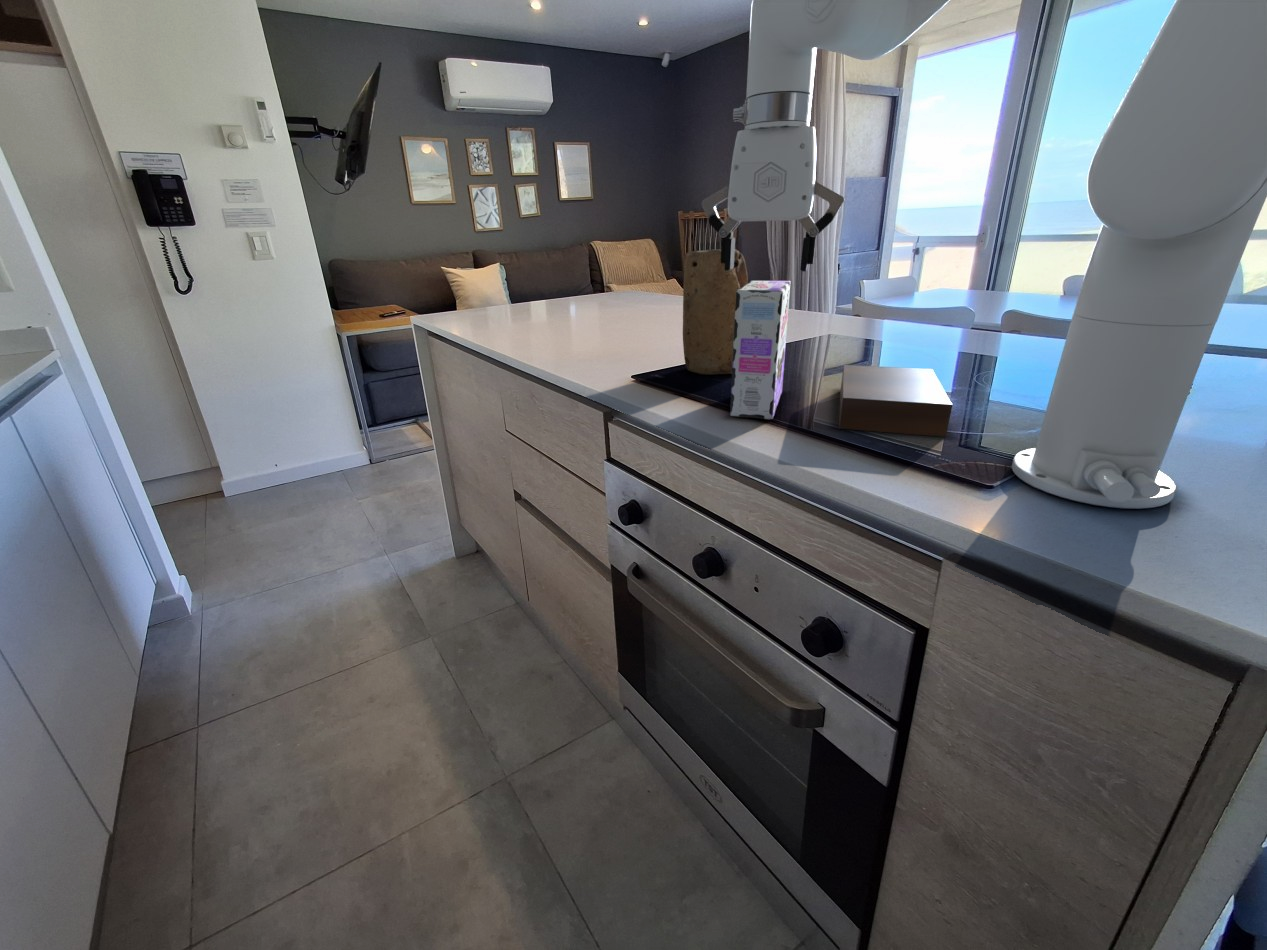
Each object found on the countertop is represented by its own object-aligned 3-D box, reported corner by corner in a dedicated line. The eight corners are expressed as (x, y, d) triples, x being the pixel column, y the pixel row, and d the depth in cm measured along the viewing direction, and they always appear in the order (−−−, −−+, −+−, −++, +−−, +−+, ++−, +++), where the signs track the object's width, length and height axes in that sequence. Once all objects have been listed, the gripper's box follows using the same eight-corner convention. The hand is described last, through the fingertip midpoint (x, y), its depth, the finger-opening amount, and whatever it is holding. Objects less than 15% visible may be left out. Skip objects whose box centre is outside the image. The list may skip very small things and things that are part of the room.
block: (679, 374, 98) (680, 250, 90) (689, 364, 105) (691, 248, 97) (742, 378, 95) (749, 249, 87) (748, 367, 102) (755, 247, 93)
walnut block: (945, 437, 68) (952, 404, 66) (839, 428, 71) (843, 397, 70) (927, 395, 83) (932, 368, 81) (840, 390, 87) (843, 364, 85)
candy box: (773, 421, 74) (783, 289, 68) (728, 417, 76) (734, 289, 70) (783, 392, 86) (792, 278, 80) (744, 390, 88) (750, 278, 81)
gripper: (698, 117, 67) (694, 271, 74) (855, 106, 61) (834, 273, 68) (711, 125, 73) (706, 267, 80) (854, 116, 68) (835, 268, 75)
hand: (765, 270), depth 74 cm, fingers open, 9 cm apart
